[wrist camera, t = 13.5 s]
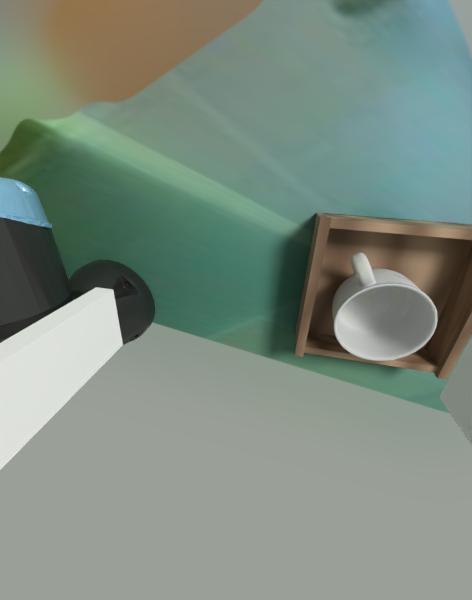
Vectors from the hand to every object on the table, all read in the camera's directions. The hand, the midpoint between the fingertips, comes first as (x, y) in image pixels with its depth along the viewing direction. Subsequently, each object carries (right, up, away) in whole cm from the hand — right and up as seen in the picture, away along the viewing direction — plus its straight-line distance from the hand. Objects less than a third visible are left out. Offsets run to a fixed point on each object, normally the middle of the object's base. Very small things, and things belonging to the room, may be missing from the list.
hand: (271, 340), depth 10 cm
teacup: (+17, +3, +27) cm, 32 cm away
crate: (+19, +3, +27) cm, 33 cm away
